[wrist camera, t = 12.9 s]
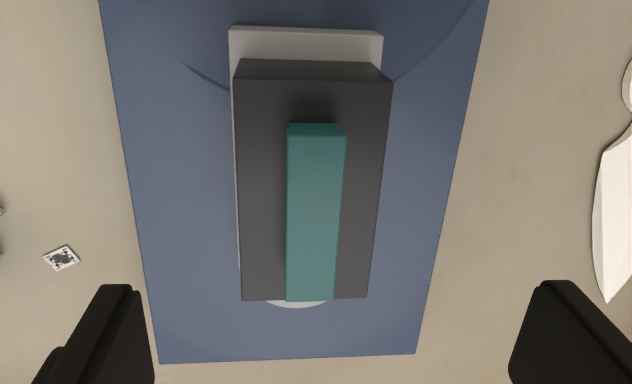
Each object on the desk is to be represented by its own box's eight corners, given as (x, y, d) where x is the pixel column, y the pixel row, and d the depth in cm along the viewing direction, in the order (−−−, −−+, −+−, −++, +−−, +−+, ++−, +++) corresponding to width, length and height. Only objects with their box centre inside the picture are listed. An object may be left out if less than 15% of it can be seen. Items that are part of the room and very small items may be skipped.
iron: (231, 24, 18) (209, 52, 11) (374, 30, 18) (427, 58, 12) (242, 287, 24) (232, 398, 17) (348, 285, 24) (375, 391, 18)
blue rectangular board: (509, -319, 17) (574, -400, 13) (399, 311, 31) (415, 354, 27) (76, -376, 15) (15, -486, 11) (172, 317, 29) (159, 364, 26)
